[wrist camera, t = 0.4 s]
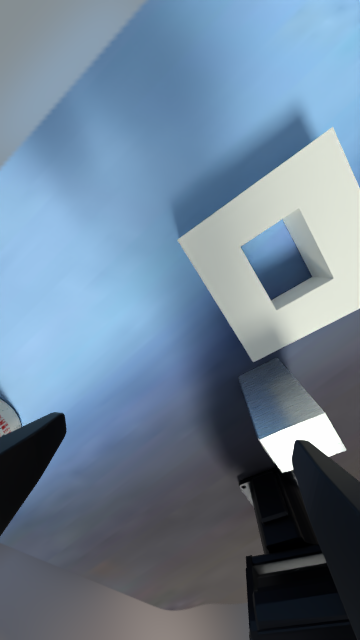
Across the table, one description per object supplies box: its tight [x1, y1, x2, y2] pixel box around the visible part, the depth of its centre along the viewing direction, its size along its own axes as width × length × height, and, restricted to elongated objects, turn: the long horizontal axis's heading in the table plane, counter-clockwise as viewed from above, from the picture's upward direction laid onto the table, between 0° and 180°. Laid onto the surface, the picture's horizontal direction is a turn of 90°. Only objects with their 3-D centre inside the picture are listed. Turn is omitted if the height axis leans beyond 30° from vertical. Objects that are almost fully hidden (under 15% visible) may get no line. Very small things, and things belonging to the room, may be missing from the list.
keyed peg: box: [238, 358, 346, 473], centre depth 17 cm, size 3×5×8 cm
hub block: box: [178, 127, 360, 362], centre depth 16 cm, size 12×12×3 cm
